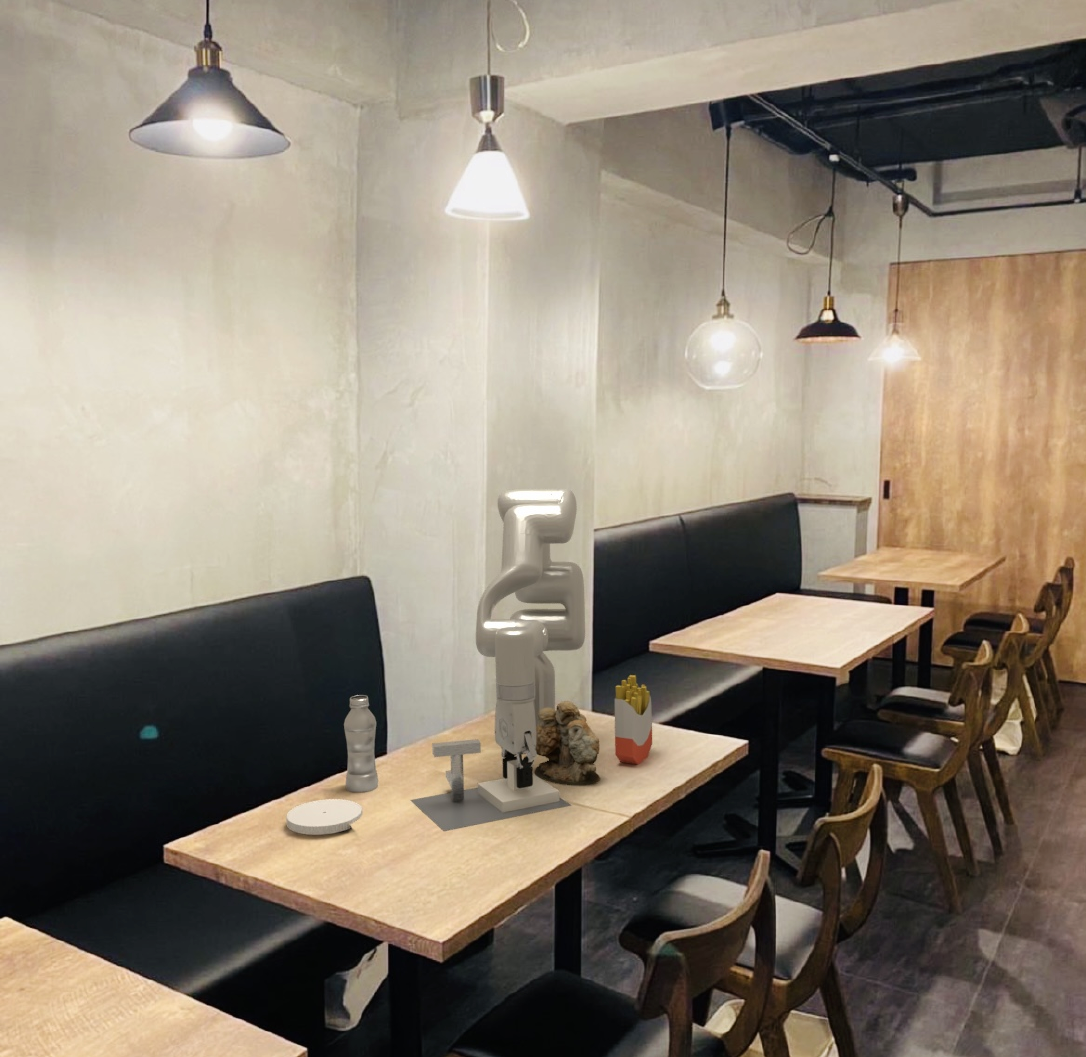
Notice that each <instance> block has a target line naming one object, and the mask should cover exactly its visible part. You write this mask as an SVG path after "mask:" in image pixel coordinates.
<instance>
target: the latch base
mask: <svg viewBox="0 0 1086 1057" xmlns="http://www.w3.org/2000/svg"><path fill="white" fill-rule="evenodd" d="M559 798H560V801H558V802H553V803H548V804H543V805H538V806H533V807H528V808H523V809H518V810H513V811H508V812H501V811H500V810H499V809H498V808H496V807H495V806H494V805H492V804H491V803H490V802H489V801H487V800H486V799H485V798H483V797H482V796H481V795H480V794H478V786H477V787H473V788H468V789H467V788H466V789H464V800H463V801H453V800H452V791H451V792H446V793H445V792H444V793H440V794H435V795H431V796H426V797H419V798H413V799H410V801H411V803H412V804H414V806H415V807H417V808H418V809H419V810H421V812H422V813H423V814H424V815H425V816H426V817H428V818H429V819H430V820H431V821H432V822H433V823H434V824H436V825H437V826H438V828H439V829H440V830H442V831H443V832H448V831H453V830H457V829H464V828H468V827H473V826H478V825H483V824H487V823H493V822H496V821H501V820H506V819H511V818H516V817H517V818H518V817H521V816H527V815H530V814H536V813H540V812H541V813H542V812H547V811H552V810H555V809H560V808H565V807H572V805H571V803H569V802H567V801H566V800H565V799H564V798H561V797H560V796H559Z"/></svg>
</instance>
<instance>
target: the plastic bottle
mask: <svg viewBox="0 0 1086 1057" xmlns="http://www.w3.org/2000/svg"><path fill="white" fill-rule="evenodd" d="M368 696H369V695H366V694H365V695H364V694H359V695H358V694H357V695H354V696H353V695H352V696H351V697H350V698H349V709H350V711H349V712H348V714H347V715H346V717H345V719H344V723H343V726H344V728H343V729H344V734H345V739H346V749H347V770H346V776H345V788H346V790H347V791H348V792H350V793H355V794H356V793H367V792H371V791H374V790H376V789H377V788H378V786H379V785H378V784H379V778H378V776H379V775H378V771H377V766H376V757H375V741H376V740H375V739H376V731H377V730H376V729H377V728H376V727H377V721H376V720H377V719H376V717H375V715H374V714H373V713H372V711H371V710H370V709H369V706H370V703H369V697H368Z"/></svg>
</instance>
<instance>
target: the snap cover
mask: <svg viewBox="0 0 1086 1057" xmlns="http://www.w3.org/2000/svg"><path fill="white" fill-rule="evenodd" d="M516 768H518V762H517V760H512V761H507V779H505V778H503V777H502V778H498V779H495V780H494V779H493V780H488V781H483V782H478V783H477V787H478V794H480V795H481V796H482V797H483V798H485V799H486V800H487V801H489V802H490V803H491V804H492V805H494V806H495V807H496V808H498V809H499V810H500V811H501V812H508V811H513V810H518V809H523V808H528V807H533V806H538V805H543V804H548V803H553V802H558V801H560V798H561V797H560V790H558V789H557V788H555V787H554V786H552V785H551V784H550V783H549V782H548V783H547V781H545V780H542V779H540V778H539V777H537V776H536V775H535V774H534V773H533V785H532V786H530V787H525V788H518V787H517V775H516ZM559 797H560V798H559Z"/></svg>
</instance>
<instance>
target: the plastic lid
mask: <svg viewBox="0 0 1086 1057" xmlns="http://www.w3.org/2000/svg"><path fill="white" fill-rule="evenodd" d="M362 816H363V807H362V805H361V804H359V803H357V802H356V801H352V800H348V799H338V798H334V799H333V798H330V799H329V798H327V799H319V800H313V801H308V802H305V803H302V804H299V805H297V806H295V807H293V808H291V809H290V810H289V811H288V812H287V814H286V816H285V818H286V827H287V829H289V830H290V831H292V832H294V833H298V834H302V835H309V836H310V835H314V836H315V835H329V834H336V833H340V832H343V831H346V830H349V829H352V825H351V824H354V823H356V822H357V821H358V820H360V819H361V817H362Z"/></svg>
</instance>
